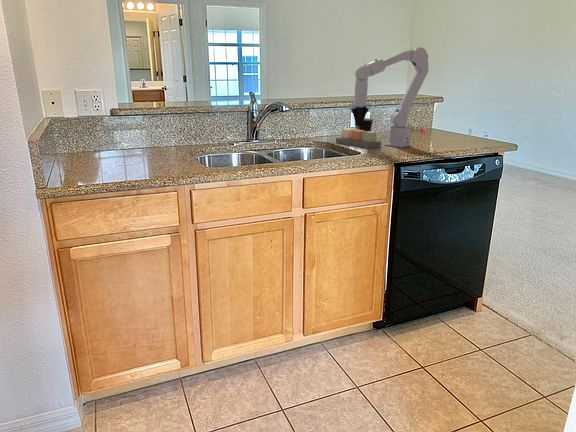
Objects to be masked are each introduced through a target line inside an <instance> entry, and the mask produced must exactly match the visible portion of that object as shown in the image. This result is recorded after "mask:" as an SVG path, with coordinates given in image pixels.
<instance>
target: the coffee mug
mask: <svg viewBox="0 0 576 432" xmlns="http://www.w3.org/2000/svg"><path fill="white" fill-rule="evenodd" d="M373 120H374V119H373V118H369V117H367V118H366V117H365V118H364V121H363V124H355V123H354V126H355V130H364V131H365V132H367V131H371V130H372V126H373V122H374V121H373ZM371 132H372V131H371Z"/></svg>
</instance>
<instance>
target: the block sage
mask: <svg viewBox="0 0 576 432" xmlns="http://www.w3.org/2000/svg"><path fill="white" fill-rule="evenodd" d="M362 141H364V142H375V141H377V131H367V132H363V137H362Z"/></svg>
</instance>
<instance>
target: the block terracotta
mask: <svg viewBox="0 0 576 432" xmlns="http://www.w3.org/2000/svg"><path fill="white" fill-rule="evenodd" d="M363 132H365V131H364V130H356V129H355V130H352V139H353V140H362V137H363Z"/></svg>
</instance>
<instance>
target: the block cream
mask: <svg viewBox="0 0 576 432" xmlns="http://www.w3.org/2000/svg"><path fill="white" fill-rule="evenodd" d="M352 130H356V128H350V127H346V128H341V135H340V136H341V138H347V139H350V138H352Z"/></svg>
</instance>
